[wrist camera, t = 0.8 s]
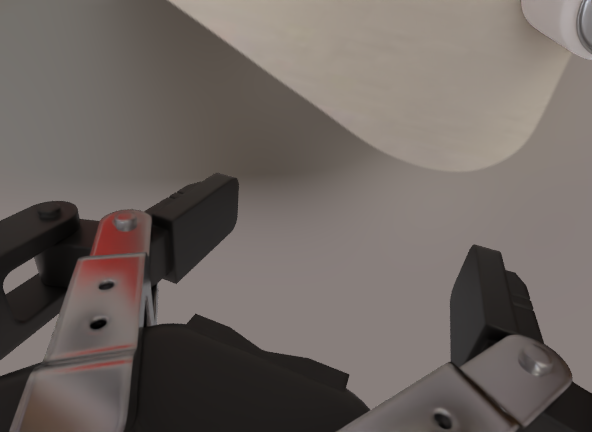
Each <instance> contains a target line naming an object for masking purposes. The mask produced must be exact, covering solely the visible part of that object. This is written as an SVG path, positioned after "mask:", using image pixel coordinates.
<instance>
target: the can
mask: <svg viewBox="0 0 592 432" xmlns="http://www.w3.org/2000/svg"><path fill="white" fill-rule="evenodd" d="M521 6H522V11H523V14H524V16H525V18H526V20H527V21H528V22H529V23H530V24H531V25H532V26H533V27H534V28H536V29H537V30H538V31H540V32H541V33H543V34H544V35H546V36H547V37H549V38H550V39H552V40H553V41H555V42H556V43H558V44H559V45H561V46H563V47H564V48H566V49H567V50H569V51H571V52H572V53H574V54H576V55H578V56H580V57H582V58H585V59H589V60H592V0H521Z"/></svg>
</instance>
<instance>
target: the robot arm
mask: <svg viewBox="0 0 592 432" xmlns="http://www.w3.org/2000/svg"><path fill="white" fill-rule="evenodd" d="M238 190H239V183H238V180H237V178H234V177H231V176H227V175H224V174H220V173H215V174H213V175H212V176H210V177H209V178H207V179H205V180H204V181H202V182H197V183H194V184H190V185H187V186H185V187H184V188H182V189H180V190H179V191H178V192H177V193H174V194H172V195H171V196H170V197H169V198H166V199H164V200H162V201H161V202H160V203H157V204H156V205H154V206H152V207H151V208H149V209H148V210H146V211H141V210H134V209H127V210H119V211H115V212H112V213H110V214H108V215H106V216H104V217H103V218H102V219H101V220H100V221H94V220H84V219H79V214H78V209H77V207H76V206H75V205H74V204H72V203H70V202H65V201H51V202H44V203H40V204H36V205H33V206H31V207H29V208H27V209H25V210H23V211H20V212H18V213H16V214H14V215H12V216H10V217H8V218H6V219H3V220H1V221H0V360H1V359H3V358H4V357H5V356H6V355H7V354H9V353H10V352H11V351H12V350H14V349H15V348H16V347H17V346H19V345H20V344H21V343H22V342H23V341H25V340H26V339H27V338H29V337H30V336H31V335H32V334H34V333H35V332H36V331H37V330H39V329H40V328H41V327H42V326H44V325H45V324H46V323H47V322H49V321H50V320H51V319H52V318H54V317H55V316H56V315H57V314H59V316H58V319H57V322H56V325H55V328H54V331H53V334H52V337H51V340H50V343H49V346H48V348H47V352H46V354H45V357H44V359H43V361H42V362H41V363H38V364H35V365H32V366H29V367H26V368H23V369H20V370H17V371H14V372H11V373H8V374H5V375H2V376H0V432H592V393H590V392H588V391H587V390H585V389H583V388H581V387H580V386H578V385H577V384H575V383H574V382H573V381H572V373H571V371H570V369H569V367H568V365H567V364H566V363H565V361H564V360H563V359H562V358H561V357H560V356H559V355H558V354H557V353H556V352H555V351H554V350H552V349H551V348H549V347H548V346H546V345H545V344H544V342H543V339H542V335H541V332H540V329H539V326H538V322H537V319H536V316H535V313H534V311H533V306H532V303H531V301H530V296H529V293H528V290H527V287H526V285H525V284H524V283H523V281H522V280H521V279H520V278H519V277H518V276H517V275H516V273H514V272H511V271H507V270H505V267H504V263H503V259H502V255H501V252H499V251H496V250H492V249H489V248H485V247H482V246H478V245H473V246H472V247H471V249H470V250H469V252H468V255H467V257H466V259H465V261H464V264H463V266H462V268H461V271H460V273H459V275H458V277H457V279H456V282H455V284H454V287H453V290H452V294H451V299H450V333H451V335H450V339H451V362H448V363H446V364H444V365H442V366H440V367H439V368H437V369H436V370H434V371H432V372H431V373H430V374H428V375H426V376H424V377H423V378H421V379H420V380H418V381H416V382H415V383H413V384H412V385H410V386H409V387H407V388H405V389H404V390H402V391H400V392H399V393H397V394H396V395H394V396H393V397H391V398H389V399H388V400H386V401H384V402H383V403H381V404H380V405H378V406H376V407H375V408H373V409H372V410H370V409H369V408H368V407H367V406H366V405H365V403H364V402H363V401H362V400H360V399H359V398H358V397H357V396H356V395H355V394H353V393H352V392H351V391H349V390H347V389H346V385H347V382H348V378H349V374H347V373H344V372H342V371H339V370H337V369H334V368H331V367H329V366H327V365H324V364H322V363H319V362H316V361H314V360H311V359H309V358H303V357H297V356H291V355H284V354H279V353H273V352H267V351H264V350H261V349H260V348H258V347H257V346H256V345H254V344H252V343H251V342H250V341H248V340H247V339H246V338H244V337H243V336H242V335H240V334H239V333H237V332H236V331H235V330H233V329H232V328H230V327H228V326H225V325H223V324H220V323H218V322H215V321H213V320H210V319H207V318H205V317H203V316H200V315H197V314H195V315H194V316H193V317H192V318H191V320H190V321H189V322H188V323H187V324H174V323H173V324H159V325H157V312H158V282H159V281H160V280H161V279H165V280H168V281H170V282H173V283H176V284H177V283H178V282H179V281H180V280H181V279H182V278H183V277H184V276H185V275H186V274H187V273H188V272H189V271H190V270H191V269H193V267H195V266H196V265H197V264H198V263H199V262H200V261H201V260H202V259H203V258H204V257H205V256H206V255H207V254H208V253H209V252H210V251H212V250H213V249H214V248H215V247H216V246H217V245H218V244H219V243H220V242H221V241H222V240H223V239H224V238H225V237H226V236H227V235H228V234H229V233H231V231H232V230H233V228H234V227H235V224H236V221H237V213H238ZM33 257H34V259H35V262H36V265H37V269H38V272H39V273H38V274H37V275H35V276H34V277H32V278H31V279H29V280H27V281H26V282H24V283H23V284H21V285H20V286H18V287H17V288H15V289H14V290H12V291H11V292H9V293H7V294H6V295H5V293H4V290H3V282H4V279H5V277H6V276H7V275H8V273H10V272H11V271H12V270H13V269H15V268H17V267H18V266H20V265H22V264H23V263H25V262H26V261H28V260H30V259H32V258H33Z"/></svg>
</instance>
